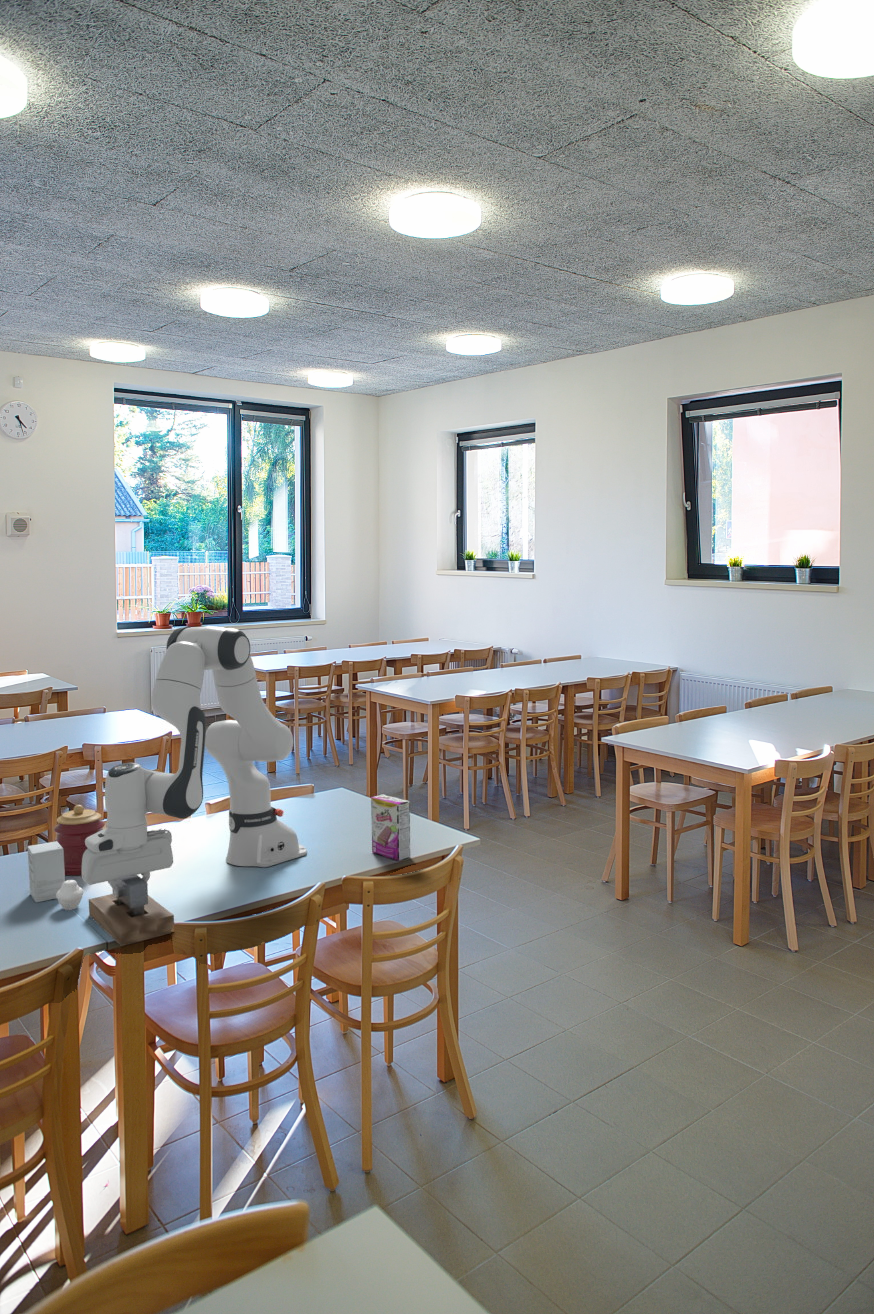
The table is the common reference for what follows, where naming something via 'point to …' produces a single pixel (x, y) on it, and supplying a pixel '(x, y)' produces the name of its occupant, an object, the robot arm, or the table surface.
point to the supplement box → (45, 870)
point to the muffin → (69, 895)
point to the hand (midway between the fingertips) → (129, 894)
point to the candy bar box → (390, 827)
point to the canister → (76, 835)
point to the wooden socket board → (130, 920)
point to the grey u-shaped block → (133, 894)
